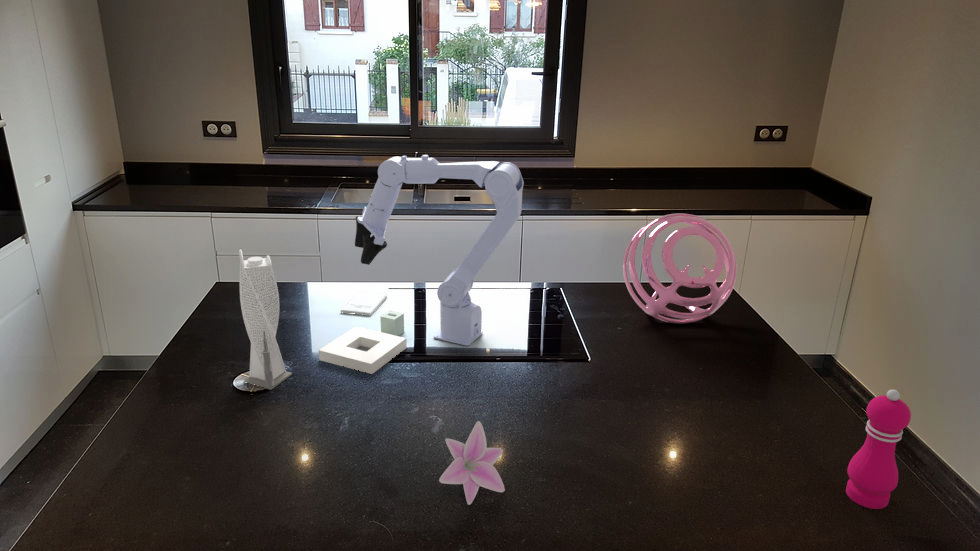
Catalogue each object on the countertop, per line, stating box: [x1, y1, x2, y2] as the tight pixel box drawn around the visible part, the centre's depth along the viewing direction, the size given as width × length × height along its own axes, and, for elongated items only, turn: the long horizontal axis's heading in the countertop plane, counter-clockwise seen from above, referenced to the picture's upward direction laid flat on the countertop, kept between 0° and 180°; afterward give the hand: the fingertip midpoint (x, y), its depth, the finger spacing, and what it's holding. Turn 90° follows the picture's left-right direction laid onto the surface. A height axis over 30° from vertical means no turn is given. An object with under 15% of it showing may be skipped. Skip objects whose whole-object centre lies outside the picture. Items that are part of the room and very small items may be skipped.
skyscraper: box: [238, 249, 293, 391], centre depth 141 cm, size 8×8×28 cm
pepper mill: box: [845, 388, 912, 510], centre depth 109 cm, size 7×7×20 cm
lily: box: [438, 420, 506, 506], centre depth 113 cm, size 12×12×10 cm
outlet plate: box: [318, 325, 408, 375], centre depth 156 cm, size 14×14×2 cm
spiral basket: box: [622, 212, 738, 324], centre depth 176 cm, size 28×28×27 cm
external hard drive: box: [340, 291, 388, 317], centre depth 182 cm, size 2×8×12 cm
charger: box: [380, 310, 405, 337], centre depth 166 cm, size 4×4×5 cm
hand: (361, 254), depth 164 cm, fingers open, 7 cm apart
